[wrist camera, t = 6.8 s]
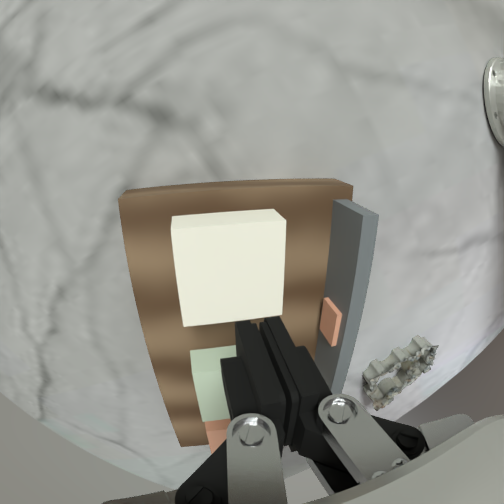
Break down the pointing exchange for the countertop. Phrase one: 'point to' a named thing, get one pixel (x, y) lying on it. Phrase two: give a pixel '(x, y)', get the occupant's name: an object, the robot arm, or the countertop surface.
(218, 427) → the key terracotta
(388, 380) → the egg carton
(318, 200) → the keypad
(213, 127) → the countertop surface
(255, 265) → the key cream
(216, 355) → the key sage
